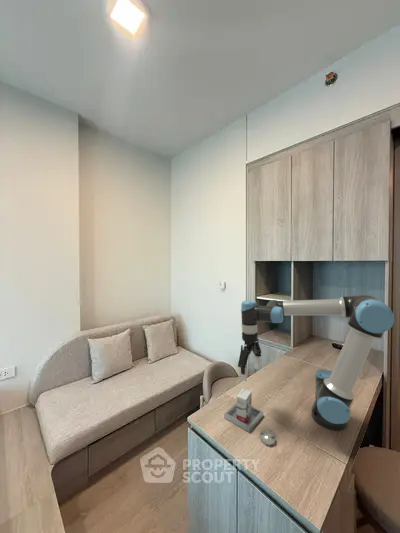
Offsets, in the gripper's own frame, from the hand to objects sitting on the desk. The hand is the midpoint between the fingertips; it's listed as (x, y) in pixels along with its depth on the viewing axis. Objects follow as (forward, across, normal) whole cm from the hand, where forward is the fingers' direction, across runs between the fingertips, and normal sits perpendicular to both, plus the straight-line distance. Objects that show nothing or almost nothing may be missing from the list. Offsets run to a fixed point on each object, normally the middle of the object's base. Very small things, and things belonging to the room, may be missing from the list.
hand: (250, 374), depth 112 cm
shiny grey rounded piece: (+22, +9, +12) cm, 27 cm away
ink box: (+21, +3, -2) cm, 21 cm away
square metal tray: (+21, +4, -2) cm, 22 cm away
